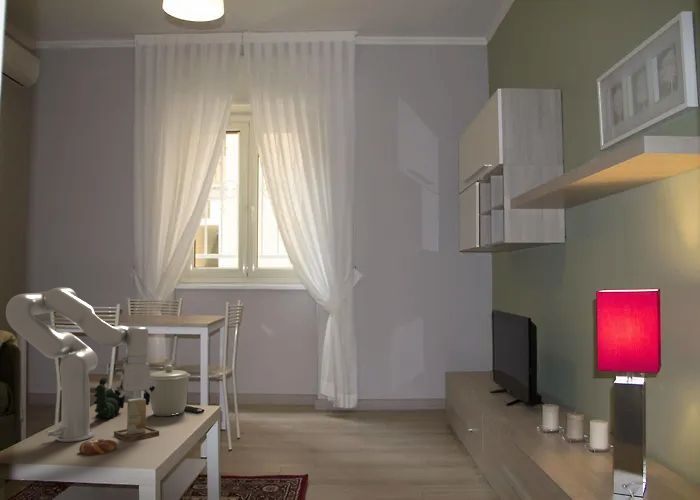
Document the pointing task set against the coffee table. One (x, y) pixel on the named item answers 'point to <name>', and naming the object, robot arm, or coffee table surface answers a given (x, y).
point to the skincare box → (136, 416)
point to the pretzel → (97, 447)
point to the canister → (169, 391)
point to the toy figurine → (106, 401)
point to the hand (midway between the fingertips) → (133, 406)
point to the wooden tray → (131, 437)
